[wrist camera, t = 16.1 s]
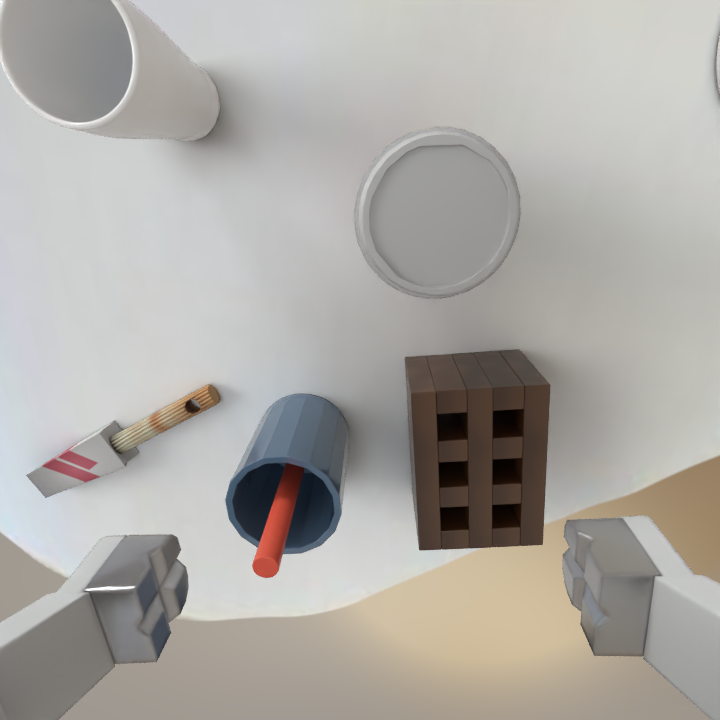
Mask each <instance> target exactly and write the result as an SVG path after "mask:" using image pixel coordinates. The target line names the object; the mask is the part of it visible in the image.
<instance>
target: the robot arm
mask: <svg viewBox="0 0 720 720" xmlns="http://www.w3.org/2000/svg"><path fill="white" fill-rule="evenodd" d="M716 74H717V83H718V89H719V93H720V38H719V43H718V49H717V59H716ZM564 537H565V540H566V542H567V544H568V546H569V548H568V550H567V551H566V552H565V553H564V554H563V575H564V582H565V586H566V589H567V593H568V596H569V598H570V601H571V603H572V605H573V606H575V607H576V608H577V609H578V610H580V611H581V626H582V629H583V631H584V633H585V635H586V638H587V640H588V642H589V645H590V647H591V649H592V651H593V654H594V655H595V656H644V658H643V659H644V660H645V661H646V662H648V663H649V664H650V665H651V666H652V667H653V668H654V669H655V670H657V671H658V672H659V673H660V674H661V675H662V676H663V677H664V678H665V679H667V680H668V681H669V682H670V683H671V684H672V685H673V686H674V687H675V688H677V689H678V690H679V691H680V692H681V693H682V694H684V695H685V696H686V697H687V698H688V699H689V700H690V701H691V702H692V703H693V704H694V705H696V706H697V707H698V708H699V709H700V710H701V711H702V712H703V713H704V714H706V715H707V716H708V717H709V718H710V719H711V720H720V584H719V583H717V582H715V581H713V580H711V579H709V578H708V577H706V576H704V575H695V574H694V573H693V572H692V571H691V569H690V568H689V567H688V565H687V564H686V563H685V562H684V560H683V559H682V558H681V557H680V555H679V554H678V553H677V551H676V550H675V549H674V548H673V546H672V545H671V544H670V543H669V541H668V540H667V539H666V538H665V536H664V535H663V534H662V532H661V531H660V530H659V529H658V527H657V526H656V525H655V523H654V522H653V521H652V520H651V518H649V517H647V516H645V515H641V516H625V517H618V518H601V519H600V518H599V519H577V520H567V521H566V524H565V530H564ZM180 551H181V548H180V545H179V541H178V538H177V537H176V536H174V535H129V536H126V535H122V536H106V537H104V538H102V539H100V540H99V541H98V543H97V544H96V545H95V546H94V548H93V549H92V550H91V551H90V552H89V554H88V555H87V556H86V557H85V559H84V560H83V561H82V562H81V563H80V565H79V566H78V567H77V568H76V570H75V571H74V572H73V573H72V575H71V576H70V577H69V578H68V579H67V581H66V582H65V583H64V584H63V586H62V587H61V588H60V589H59V590H58V592H57V593H49V594H47V595H45V596H44V597H43V598H41V599H39V600H37V601H36V602H34V603H33V604H31V605H29V606H27V607H26V608H24V609H22V610H21V611H19V612H17V613H16V614H14V615H12V616H11V617H9V618H7V619H6V620H4V621H2V622H1V623H0V720H58V719H60V718H61V717H62V716H63V715H64V714H65V713H66V712H67V711H68V710H69V709H70V708H71V707H72V706H73V705H74V704H76V703H77V702H78V701H79V700H80V699H81V698H82V697H83V696H84V695H85V694H86V693H87V692H88V691H89V690H90V689H92V688H93V687H94V686H95V685H96V684H97V683H98V682H99V681H100V680H101V679H102V678H103V677H104V676H105V675H106V674H107V673H109V672H110V671H111V670H112V669H113V668H114V667H115V664H125V663H146V662H157V660H158V658H159V656H160V654H161V652H162V650H163V648H164V646H165V644H166V642H167V639H168V637H169V635H170V634H171V631H170V627H169V624H168V623H169V622H171V621H172V620H173V619H174V618H176V617H177V616H178V615H179V614H180V613H181V611H182V609H183V606H184V604H185V602H186V597H187V592H188V574H187V570H186V567H185V566H184V565H183V564H182V563H181V562H180V561H179V560H178V559H177V556H178V555H179V553H180Z"/></svg>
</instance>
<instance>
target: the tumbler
mask: <svg viewBox="0 0 720 720" xmlns="http://www.w3.org/2000/svg"><path fill="white" fill-rule="evenodd" d="M348 449H349V430H348V426H347V423H346V420H345V418H344V416H343V415H342V413H341V412H340V411H339V410H338V409H337V408H336V407H335V406H334V405H333V404H332V403H330V402H329V401H327V400H325V399H323V398H321V397H318V396H315V395H310V394H295V395H290V396H287V397H284V398H282V399H280V400H278V401H277V402H275V403H274V404H273V405H272V406H271V407H270V408H269V409H268V410H267V412H266V413H265V415H264V416H263V417H262V419H261V421H260V423H259V425H258V427H257V429H256V431H255V433H254V435H253V437H252V439H251V441H250V443H249V445H248V447H247V449H246V451H245V453H244V455H243V457H242V459H241V461H240V463H239V465H238V467H237V469H236V471H235V473H234V475H233V477H232V479H231V481H230V484H229V488H228V492H227V495H226V499H225V500H226V506H227V511H228V516H229V520H230V521H231V523H232V524H233V526H234V527H235V528H236V530H237V531H238V533H239V534H240V536H241V537H243V538H244V539H246V540H247V541H249V542H250V543H252V544H253V545H255V546H256V547H257V548H258V546H259V543H260V540H261V537H262V534H263V531H264V528H265V525H266V522H267V519H268V516H269V513H270V510H271V507H272V504H273V501H274V498H275V495H276V492H277V489H278V486H279V483H280V480H281V477H282V474H283V471H284V468H285V465H286V462H287V463H290V464H293V465H297V466H300V467H304V468H305V469H304V473H303V477H302V481H301V485H300V489H299V493H298V497H297V500H296V504H295V508H294V512H293V516H292V520H291V524H290V528H289V531H288V535H287V539H286V543H285V547H284V551H283V554H297V553H304V552H306V551H308V550H311V549H313V548H316V547H318V546H320V545H322V544H323V543H324V542H325V541H326V540H327V539H328V538H329V537H330V536H331V535H332V534H333V533H334V532H335V530H336V528H337V525H338V522H339V519H340V517H341V513H342V504H343V495H344V486H345V477H346V468H347V458H348Z"/></svg>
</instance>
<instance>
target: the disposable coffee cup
mask: <svg viewBox="0 0 720 720" xmlns="http://www.w3.org/2000/svg"><path fill="white" fill-rule="evenodd" d="M519 220H520V195H519V191H518V187H517V183H516V179H515V177H514V175H513V173H512V171H511V169H510V167H509V165H508V163H507V161H506V160H505V159H504V158H503V156H502V155H501V154H500V153H499V152H498V151H497V150H496V148H495V147H494V146H492V145H491V144H490V143H488V142H487V141H485V140H484V139H483V138H481V137H480V136H477V135H475V134H473V133H470V132H468V131H466V130H462V129H457V128H452V127H432V128H426V129H420V130H417V131H415V132H412V133H409V134H407V135H405V136H403V137H401V138H399V139H398V140H396V141H395V142H393V143H392V144H391V145H389V146H388V147H386V148H385V149H384V150H383V151H382V153H381V154H380V155H379V156H378V157H377V158H376V159H375V160H374V161H373V163H372V164H371V166H370V168H369V169H368V171H367V172H366V174H365V175H364V178H363V180H362V183H361V186H360V188H359V191H358V194H357V199H356V205H355V229H356V234H357V240H358V243H359V246H360V248H361V250H362V253H363V255H364V257H365V259H366V260H367V262H368V264H369V265H370V267H371V268H372V269H373V270H374V271H375V273H376V274H377V275H378V276H379V277H380V278H381V279H382V280H384V281H385V282H386V283H387V284H389V285H390V286H392V287H393V288H395V289H397V290H399V291H401V292H403V293H406V294H408V295H412V296H415V297H421V298H446V297H451V296H455V295H458V294H461V293H464V292H466V291H469V290H471V289H473V288H474V287H476V286H478V285H480V284H481V283H482V282H484V281H485V280H486V279H487V278H489V277H490V276H491V275H492V274H493V273H494V272H495V271H496V270H497V269H498V267H499V266H500V265H501V264H502V263H503V261H504V259H505V258H506V256H507V255H508V253H509V252H510V250H511V247H512V245H513V242H514V240H515V237H516V234H517V232H518V226H519Z"/></svg>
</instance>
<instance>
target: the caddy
mask: <svg viewBox="0 0 720 720" xmlns="http://www.w3.org/2000/svg"><path fill="white" fill-rule="evenodd" d="M405 369H406V387H407V404H408V422H409V440H410V458H411V475H412V493H413V501H414V510H415V519H416V527H417V536H418V544H419V550H439V549H441V548H442V549H464V548H488V547H507V546H528V545H542V544H543V527H544V506H545V485H546V464H547V443H548V421H549V400H550V384H549V383H548V382H547V381H546V379H545V378H544V377H543V376H542V375H541V374H540V373H539V371H538V370H537V369H536V368H535V367H534V366H533V365H532V363H531V362H530V361H529V360H528V359H527V358H526V357H525V355H524V354H523V353H522V352H521V351H520V350H505V351H499V352H498V351H489V352H474V353H458V354H446V355H431V356H416V357H405Z"/></svg>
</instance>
